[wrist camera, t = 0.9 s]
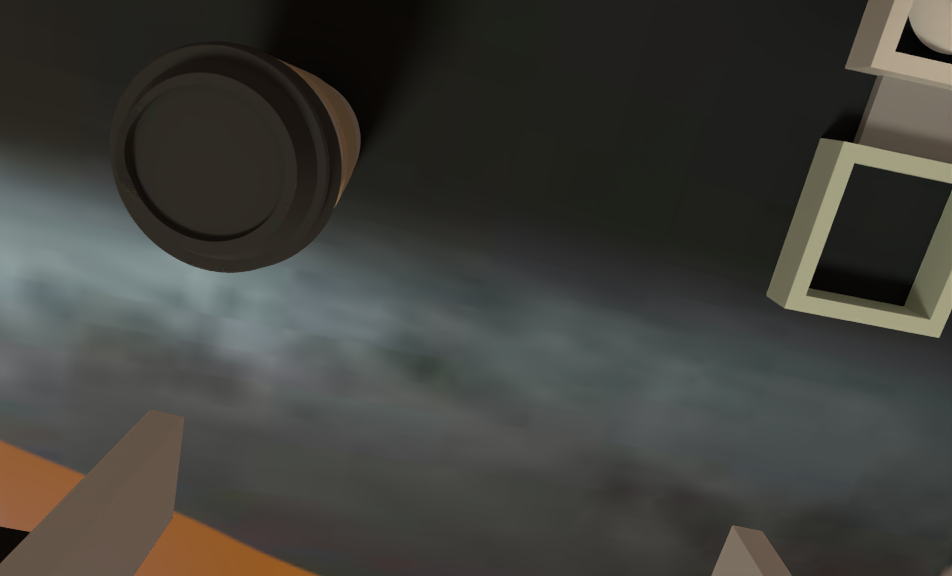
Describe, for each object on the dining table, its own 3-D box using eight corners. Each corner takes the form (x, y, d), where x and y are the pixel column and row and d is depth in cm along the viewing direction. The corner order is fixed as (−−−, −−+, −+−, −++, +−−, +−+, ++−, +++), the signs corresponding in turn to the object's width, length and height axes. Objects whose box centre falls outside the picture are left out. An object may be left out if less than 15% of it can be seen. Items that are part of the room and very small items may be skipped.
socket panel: (912, -127, 35) (945, -143, 32) (1084, -84, 35) (1128, -97, 33) (766, 295, 41) (784, 308, 39) (912, 323, 42) (939, 337, 40)
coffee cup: (394, 79, 37) (349, 73, 23) (364, 229, 40) (307, 309, 25) (236, 38, 36) (87, 7, 22) (216, 195, 39) (71, 257, 25)
